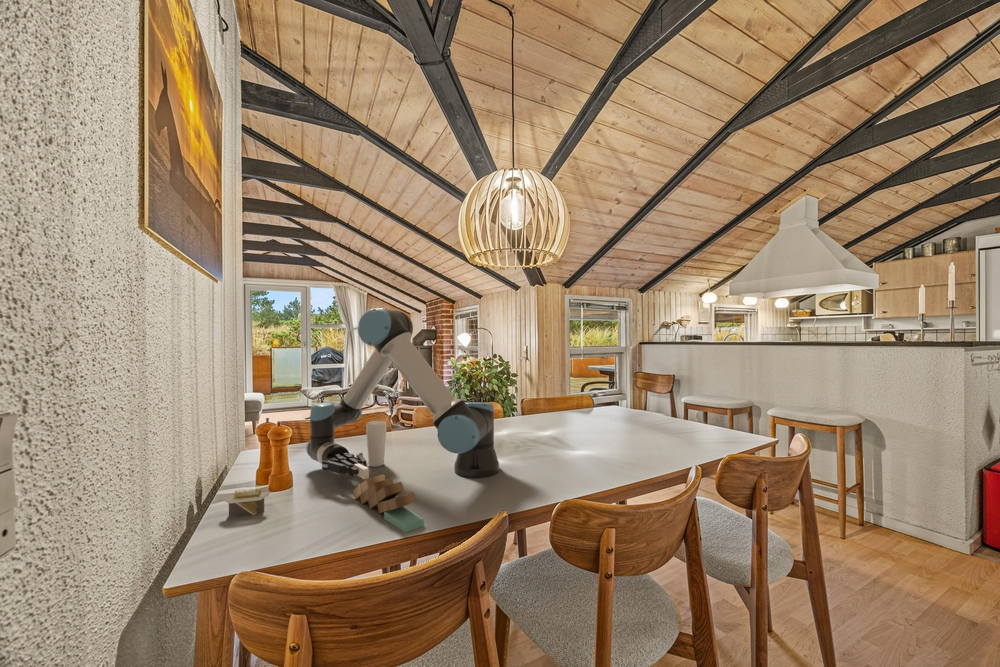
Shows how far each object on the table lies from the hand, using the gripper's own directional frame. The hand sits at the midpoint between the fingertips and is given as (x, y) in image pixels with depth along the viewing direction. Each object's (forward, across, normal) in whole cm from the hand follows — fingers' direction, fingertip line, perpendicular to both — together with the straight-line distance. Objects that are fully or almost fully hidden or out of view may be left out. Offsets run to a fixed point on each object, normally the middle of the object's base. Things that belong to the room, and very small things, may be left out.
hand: (366, 473), depth 114 cm
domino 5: (+15, 0, -6) cm, 16 cm away
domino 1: (-2, 0, -6) cm, 6 cm away
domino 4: (+12, 0, -5) cm, 13 cm away
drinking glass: (-26, -16, -7) cm, 31 cm away
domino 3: (+7, 0, -6) cm, 9 cm away
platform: (-11, +27, -8) cm, 30 cm away
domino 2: (+2, 0, -6) cm, 6 cm away
